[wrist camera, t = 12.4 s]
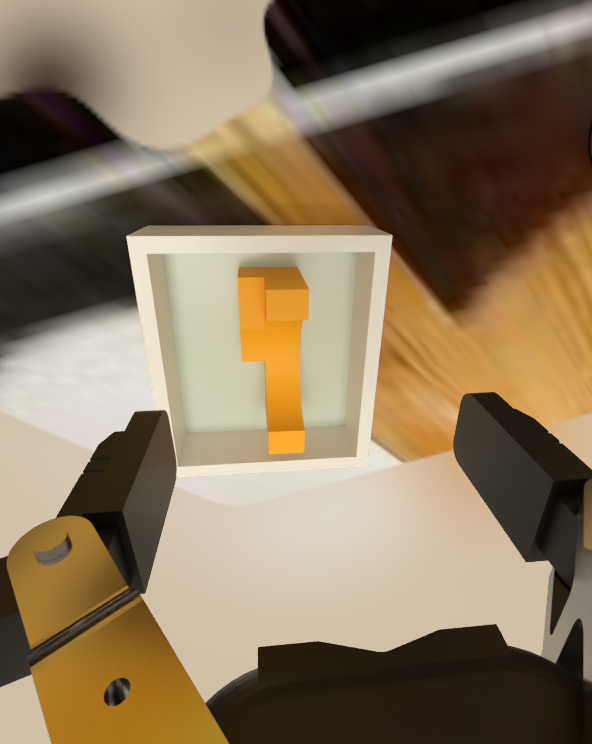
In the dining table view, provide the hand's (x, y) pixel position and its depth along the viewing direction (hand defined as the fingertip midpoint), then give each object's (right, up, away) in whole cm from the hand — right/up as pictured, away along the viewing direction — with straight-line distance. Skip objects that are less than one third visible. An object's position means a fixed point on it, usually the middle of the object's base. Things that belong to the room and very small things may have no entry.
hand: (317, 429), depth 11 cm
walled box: (-3, +4, +22) cm, 23 cm away
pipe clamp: (-3, +4, +21) cm, 22 cm away
